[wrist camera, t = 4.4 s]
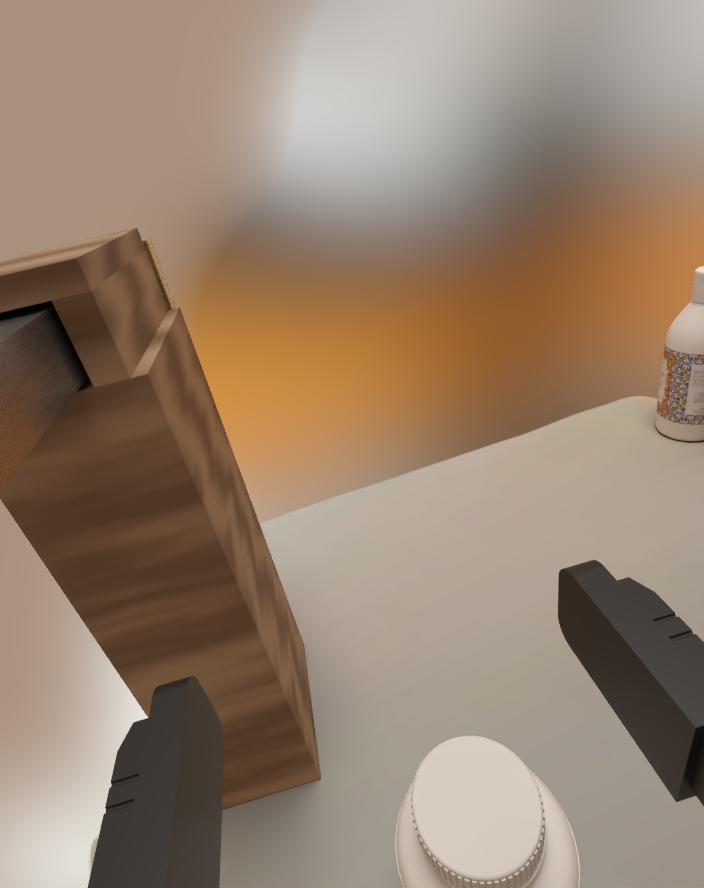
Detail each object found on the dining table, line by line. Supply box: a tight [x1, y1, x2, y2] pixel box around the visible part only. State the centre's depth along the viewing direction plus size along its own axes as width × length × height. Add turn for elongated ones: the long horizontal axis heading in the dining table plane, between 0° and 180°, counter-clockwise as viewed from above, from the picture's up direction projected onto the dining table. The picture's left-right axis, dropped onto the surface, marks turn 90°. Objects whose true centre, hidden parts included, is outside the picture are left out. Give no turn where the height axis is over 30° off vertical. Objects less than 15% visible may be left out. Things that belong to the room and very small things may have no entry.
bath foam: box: [655, 266, 704, 441], centre depth 59 cm, size 7×7×20 cm
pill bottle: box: [395, 736, 580, 888], centre depth 24 cm, size 8×8×15 cm
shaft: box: [0, 301, 88, 490], centre depth 24 cm, size 27×3×3 cm, turn 11°
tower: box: [0, 228, 321, 809], centre depth 32 cm, size 12×8×37 cm, turn 11°
